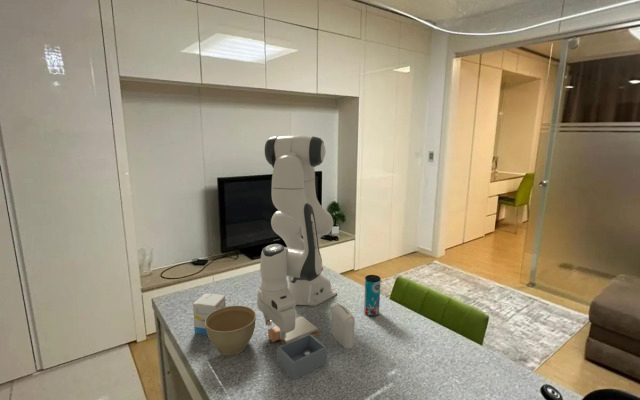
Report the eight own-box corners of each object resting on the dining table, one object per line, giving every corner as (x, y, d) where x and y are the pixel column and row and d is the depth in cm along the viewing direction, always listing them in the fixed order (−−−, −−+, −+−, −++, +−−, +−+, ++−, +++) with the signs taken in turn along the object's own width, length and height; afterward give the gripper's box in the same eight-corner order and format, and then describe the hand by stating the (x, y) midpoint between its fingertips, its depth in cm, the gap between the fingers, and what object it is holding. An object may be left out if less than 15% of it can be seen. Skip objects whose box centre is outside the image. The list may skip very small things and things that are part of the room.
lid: (302, 320, 126) (301, 310, 125) (317, 332, 118) (317, 322, 118) (263, 335, 116) (263, 325, 116) (277, 349, 109) (277, 338, 108)
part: (308, 352, 107) (308, 347, 107) (313, 357, 105) (313, 351, 105) (301, 356, 106) (301, 350, 105) (306, 360, 104) (306, 355, 103)
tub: (309, 349, 110) (309, 333, 109) (326, 365, 103) (326, 347, 102) (277, 364, 103) (277, 347, 102) (293, 381, 96) (293, 363, 94)
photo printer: (330, 334, 118) (330, 302, 116) (340, 331, 120) (341, 299, 118) (344, 351, 109) (345, 316, 107) (355, 347, 111) (356, 313, 109)
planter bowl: (264, 336, 117) (263, 307, 115) (244, 366, 102) (243, 334, 100) (221, 330, 120) (220, 302, 118) (196, 359, 105) (194, 328, 103)
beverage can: (370, 318, 129) (372, 282, 126) (360, 311, 134) (362, 276, 131) (382, 314, 132) (383, 278, 129) (372, 307, 137) (373, 273, 134)
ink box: (216, 336, 117) (214, 306, 114) (194, 333, 118) (191, 303, 116) (227, 323, 125) (225, 294, 123) (206, 320, 127) (204, 292, 124)
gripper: (252, 284, 117) (253, 320, 120) (281, 309, 101) (282, 350, 103) (268, 280, 121) (269, 315, 123) (298, 303, 104) (299, 342, 107)
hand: (275, 331), depth 113 cm, fingers open, 8 cm apart
